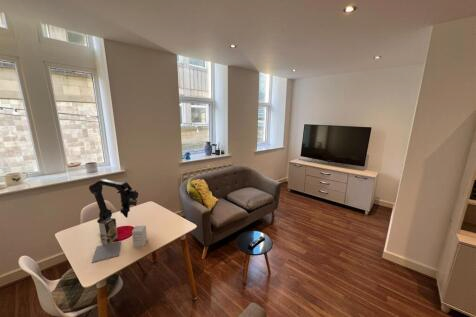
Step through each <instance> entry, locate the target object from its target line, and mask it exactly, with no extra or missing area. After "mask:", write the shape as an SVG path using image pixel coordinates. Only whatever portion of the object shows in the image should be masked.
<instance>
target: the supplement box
mask: <svg viewBox="0 0 476 317" xmlns="http://www.w3.org/2000/svg"><path fill="white" fill-rule="evenodd" d="M131 235H132V243H133V247H144V246H145V244H146V243H147V241H148V234H147V226H146V225H136V226H135V227H134V228H133V229H132V231H131Z"/></svg>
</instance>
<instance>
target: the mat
mask: <svg viewBox="0 0 476 317" xmlns="http://www.w3.org/2000/svg"><path fill="white" fill-rule="evenodd" d="M121 242H122V241H121V240H118V241H114V242H111V243H109V244H101V245H97V246H96V248H95V251H94V254H93V256H92V260H91V263H92V264H93V263H98V262H100V261H105V260H108V259H112V258H115V257H119V255H120V250H121V244H122V243H121Z"/></svg>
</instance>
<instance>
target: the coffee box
mask: <svg viewBox="0 0 476 317" xmlns="http://www.w3.org/2000/svg"><path fill="white" fill-rule="evenodd" d="M116 220H117V218H114V217H111V218H108V219H106V220H104V221H103V222H101V223H98V227H99V228H98V229H99V235H100V243H101V245H105V244H110V243H113V241H114V242H115V240H117V239H118V238H119V237H118V229H117V221H116Z"/></svg>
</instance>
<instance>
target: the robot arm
mask: <svg viewBox="0 0 476 317" xmlns="http://www.w3.org/2000/svg"><path fill="white" fill-rule="evenodd" d="M103 186H106V187H110V188H114V189H115V190H116V191H117V194H120V195H119V196H120V203H121V205H120V206H121V208H120V214H123V216H124V217H125V218H126V219H127V218H128V215H129V213H130V211H131V208H130V206H137V204H138V200H137V199H138V198H139V192H137V190H135V189H134V190H133V188H132V187H131V185H130V184H129V183H128V182H127V181H115V180H110V179H106V178H101V179H99V180H98V181H96V182H95V183H93V184H90V185H89V187H88V189H89V191H90V194H93V195H94V198H95V200H96V204H97V207H98V209H99V214H98V217H99V218H98V219H97V224H99V223H101V222H103V221H104V220H106V219H108V218H112V216H113V212H112V209H109V208H107V204H106V202H105V199H104V196H103V193H102V192H103Z"/></svg>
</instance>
